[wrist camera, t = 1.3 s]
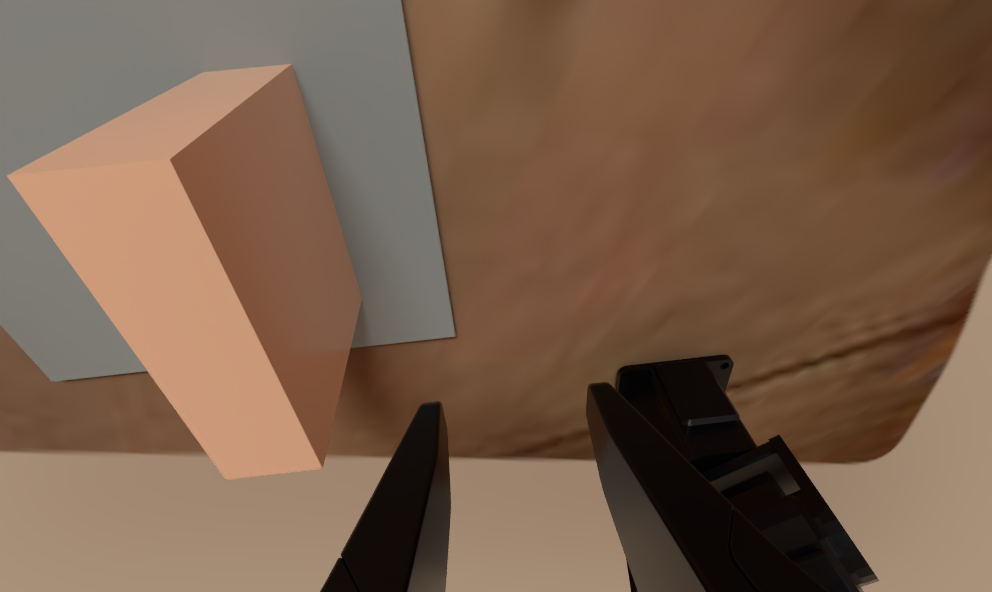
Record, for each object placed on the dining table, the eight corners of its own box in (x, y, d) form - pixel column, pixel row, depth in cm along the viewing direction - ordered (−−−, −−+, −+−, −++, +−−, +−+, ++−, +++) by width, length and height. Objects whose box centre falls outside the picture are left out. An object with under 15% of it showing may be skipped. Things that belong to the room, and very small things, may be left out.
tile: (362, 297, 22) (322, 468, 15) (292, 305, 22) (219, 480, 15) (291, 63, 16) (169, 159, 9) (196, 72, 16) (-5, 176, 9)
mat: (455, 331, 24) (455, 336, 24) (57, 375, 24) (52, 381, 23) (392, -57, 15) (391, -56, 14) (-275, 2, 14) (-292, 4, 14)
